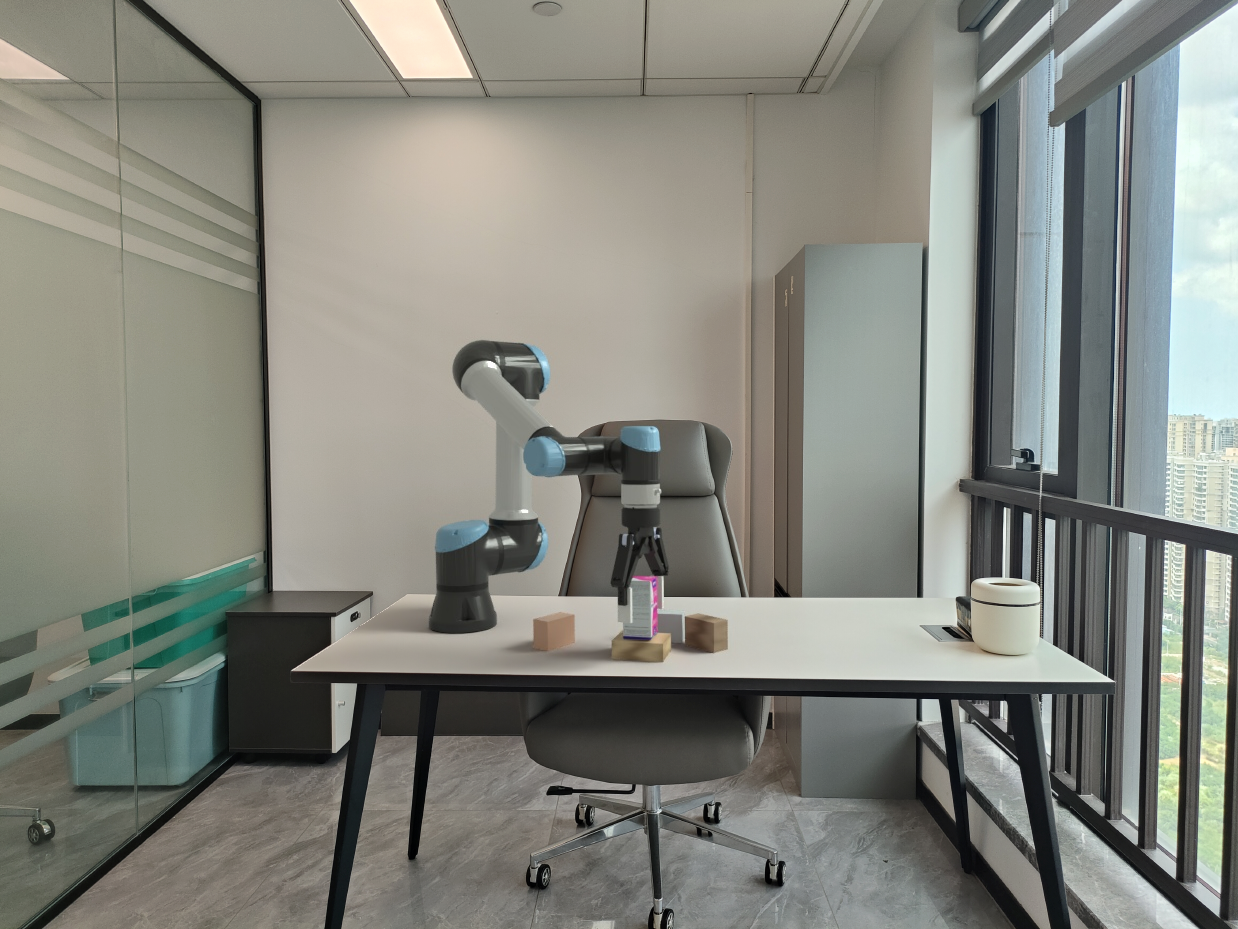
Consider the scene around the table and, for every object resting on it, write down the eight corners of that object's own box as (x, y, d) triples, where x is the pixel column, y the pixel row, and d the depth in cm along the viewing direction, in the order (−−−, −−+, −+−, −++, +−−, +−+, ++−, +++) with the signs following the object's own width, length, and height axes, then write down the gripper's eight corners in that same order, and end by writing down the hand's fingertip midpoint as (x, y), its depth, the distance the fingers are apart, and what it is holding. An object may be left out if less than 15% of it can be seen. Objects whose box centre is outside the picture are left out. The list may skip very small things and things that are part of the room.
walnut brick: (684, 645, 159) (684, 616, 158) (698, 642, 161) (698, 613, 161) (714, 653, 152) (713, 623, 152) (727, 649, 155) (727, 619, 155)
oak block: (611, 661, 149) (611, 640, 149) (621, 650, 157) (621, 630, 157) (663, 664, 147) (663, 643, 146) (670, 653, 154) (670, 633, 154)
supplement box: (652, 640, 148) (650, 580, 148) (622, 639, 150) (620, 580, 149) (659, 633, 154) (657, 575, 153) (630, 632, 155) (628, 575, 155)
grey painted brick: (643, 641, 162) (643, 613, 162) (647, 637, 166) (647, 609, 165) (682, 643, 160) (682, 614, 160) (684, 638, 164) (684, 610, 164)
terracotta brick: (547, 651, 155) (547, 621, 154) (533, 648, 157) (533, 619, 157) (574, 643, 161) (574, 614, 161) (560, 640, 163) (560, 612, 163)
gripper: (627, 512, 138) (628, 631, 139) (684, 501, 160) (685, 604, 161) (591, 510, 142) (592, 626, 142) (651, 500, 164) (652, 601, 164)
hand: (641, 615), depth 151 cm, fingers open, 13 cm apart
